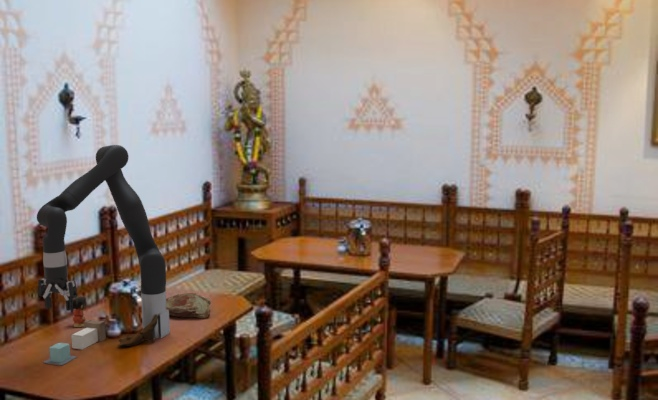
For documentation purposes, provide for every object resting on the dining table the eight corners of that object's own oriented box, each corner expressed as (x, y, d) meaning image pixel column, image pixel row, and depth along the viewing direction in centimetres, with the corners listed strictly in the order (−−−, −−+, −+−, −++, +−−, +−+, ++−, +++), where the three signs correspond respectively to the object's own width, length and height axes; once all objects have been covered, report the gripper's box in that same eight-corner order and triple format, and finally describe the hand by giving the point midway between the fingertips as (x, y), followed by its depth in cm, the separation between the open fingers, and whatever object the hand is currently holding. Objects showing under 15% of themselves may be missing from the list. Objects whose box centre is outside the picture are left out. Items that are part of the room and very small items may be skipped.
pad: (77, 357, 254) (77, 356, 254) (61, 365, 247) (61, 364, 247) (58, 354, 257) (58, 354, 257) (43, 362, 249) (42, 362, 249)
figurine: (84, 328, 285) (82, 299, 283) (70, 328, 285) (68, 299, 283) (89, 323, 291) (87, 294, 289) (76, 323, 291) (74, 294, 290)
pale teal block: (70, 357, 253) (69, 343, 253) (60, 362, 249) (59, 348, 248) (60, 356, 255) (59, 342, 254) (50, 361, 250) (49, 347, 249)
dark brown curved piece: (157, 315, 265) (115, 319, 263) (159, 343, 264) (116, 347, 261) (158, 314, 273) (117, 318, 270) (160, 342, 272) (119, 346, 269)
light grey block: (105, 339, 273) (104, 321, 272) (85, 349, 261) (84, 331, 260) (89, 336, 275) (88, 319, 274) (69, 347, 264) (67, 329, 263)
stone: (216, 301, 311) (214, 289, 309) (208, 319, 294) (206, 307, 293) (162, 303, 312) (160, 292, 310) (151, 321, 295) (150, 309, 294)
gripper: (79, 262, 249) (83, 307, 251) (45, 260, 253) (49, 304, 256) (65, 267, 242) (69, 314, 244) (30, 265, 246) (34, 310, 249)
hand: (59, 309), depth 250 cm, fingers open, 8 cm apart
